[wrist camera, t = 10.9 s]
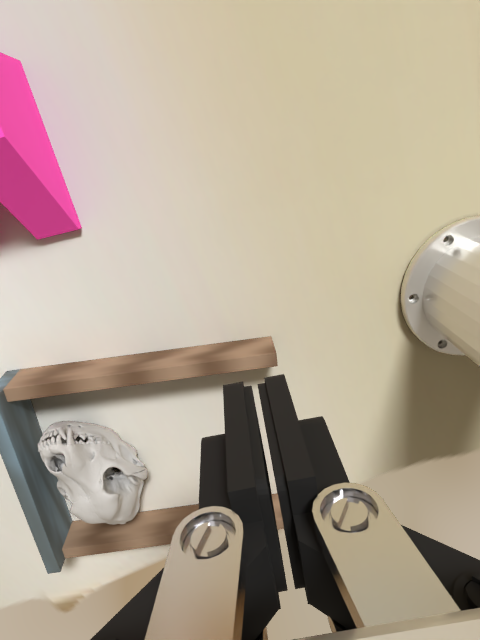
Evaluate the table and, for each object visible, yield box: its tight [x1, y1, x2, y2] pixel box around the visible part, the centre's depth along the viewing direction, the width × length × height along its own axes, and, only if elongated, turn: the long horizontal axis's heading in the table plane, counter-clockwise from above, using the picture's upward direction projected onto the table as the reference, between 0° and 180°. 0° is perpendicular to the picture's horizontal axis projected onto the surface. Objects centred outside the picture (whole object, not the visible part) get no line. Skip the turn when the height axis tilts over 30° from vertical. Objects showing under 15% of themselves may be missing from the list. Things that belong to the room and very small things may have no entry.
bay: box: [0, 336, 284, 574], centre depth 41 cm, size 24×19×5 cm
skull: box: [38, 421, 148, 525], centre depth 40 cm, size 8×9×12 cm
